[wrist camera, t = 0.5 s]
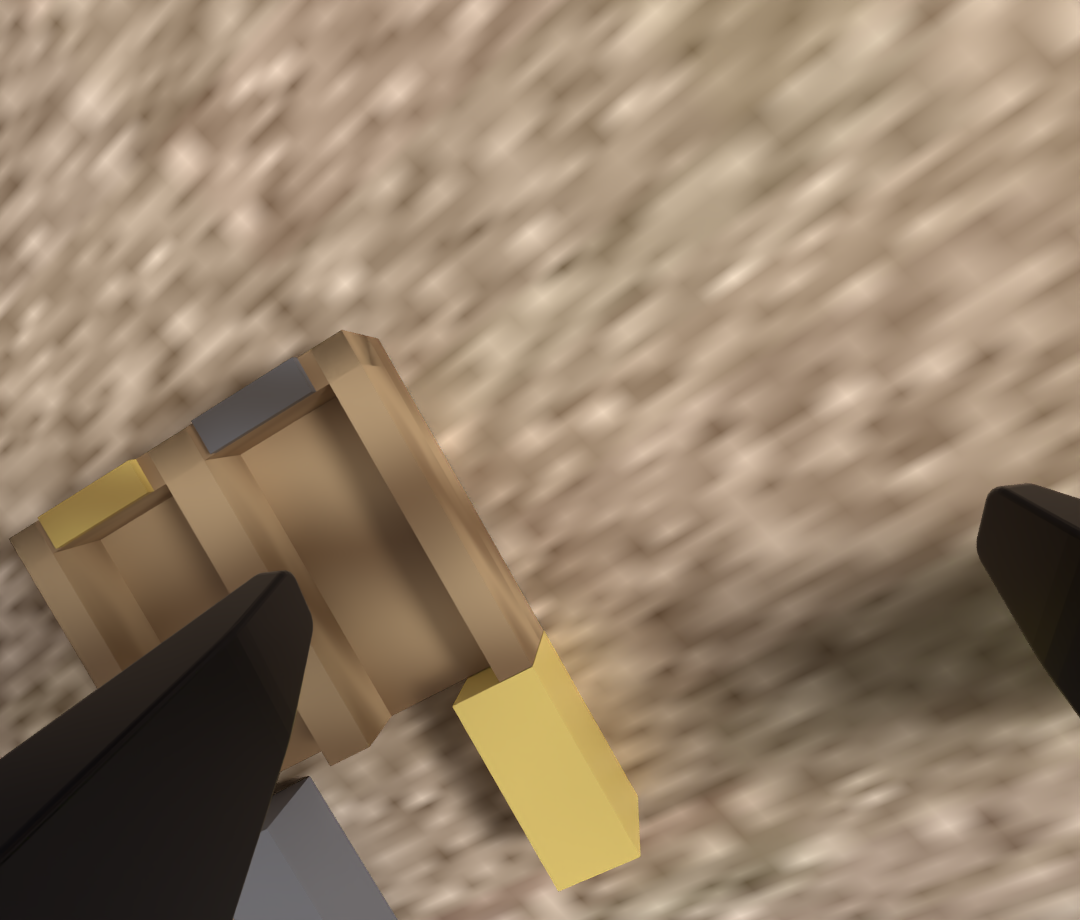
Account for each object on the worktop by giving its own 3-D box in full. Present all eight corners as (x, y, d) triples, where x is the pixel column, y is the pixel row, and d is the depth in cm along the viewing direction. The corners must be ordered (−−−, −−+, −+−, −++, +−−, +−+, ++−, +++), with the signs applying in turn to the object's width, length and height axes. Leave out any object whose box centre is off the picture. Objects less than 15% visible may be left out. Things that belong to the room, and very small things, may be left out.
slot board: (543, 630, 23) (530, 670, 19) (237, 785, 25) (180, 844, 22) (378, 338, 22) (337, 329, 19) (82, 521, 24) (0, 541, 21)
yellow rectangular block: (637, 793, 23) (640, 856, 20) (566, 824, 24) (558, 891, 20) (544, 629, 23) (532, 666, 20) (474, 663, 23) (452, 706, 20)
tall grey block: (403, 923, 25) (372, 1000, 22) (342, 951, 25) (303, 1031, 22) (311, 772, 25) (267, 828, 21) (252, 804, 25) (199, 863, 22)
